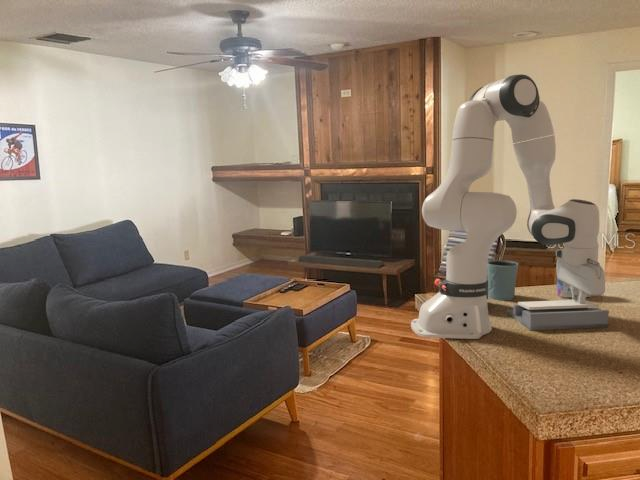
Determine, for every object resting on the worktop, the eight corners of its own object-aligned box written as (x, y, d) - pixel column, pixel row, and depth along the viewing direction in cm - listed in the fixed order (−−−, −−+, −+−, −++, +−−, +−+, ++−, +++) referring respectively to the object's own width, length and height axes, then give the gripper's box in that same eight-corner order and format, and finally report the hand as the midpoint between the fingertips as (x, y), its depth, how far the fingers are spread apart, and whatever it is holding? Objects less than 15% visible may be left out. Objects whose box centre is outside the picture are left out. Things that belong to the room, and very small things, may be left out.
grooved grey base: (530, 330, 142) (530, 313, 141) (507, 312, 158) (508, 298, 157) (607, 327, 142) (609, 310, 141) (577, 310, 158) (578, 295, 157)
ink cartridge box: (583, 293, 177) (585, 252, 174) (591, 297, 171) (594, 255, 169) (555, 293, 177) (556, 253, 175) (562, 298, 171) (564, 256, 169)
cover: (529, 309, 144) (529, 307, 144) (517, 304, 152) (517, 302, 152) (598, 307, 145) (598, 304, 145) (583, 302, 153) (583, 299, 153)
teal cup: (480, 294, 179) (480, 261, 177) (504, 291, 182) (505, 258, 180) (498, 302, 169) (499, 267, 167) (523, 298, 172) (525, 264, 170)
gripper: (613, 262, 136) (610, 312, 138) (573, 248, 156) (571, 292, 158) (589, 263, 136) (587, 313, 138) (552, 249, 156) (551, 293, 158)
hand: (578, 302), depth 148 cm, fingers closed
